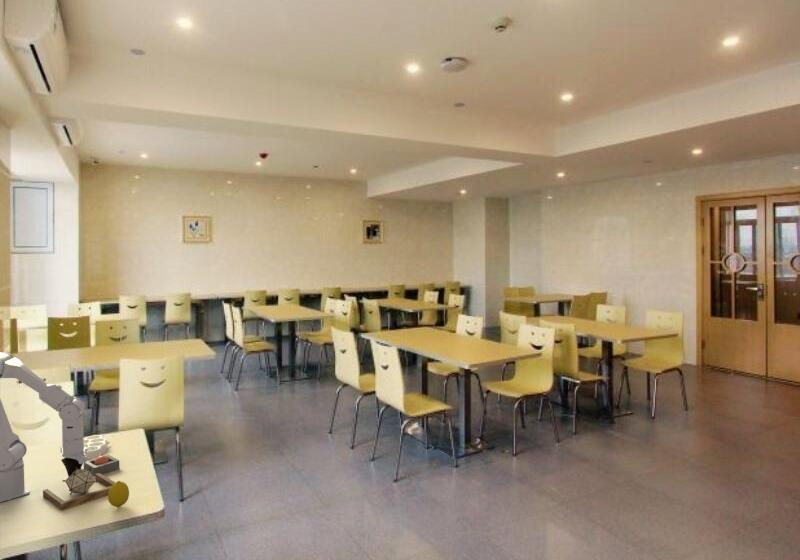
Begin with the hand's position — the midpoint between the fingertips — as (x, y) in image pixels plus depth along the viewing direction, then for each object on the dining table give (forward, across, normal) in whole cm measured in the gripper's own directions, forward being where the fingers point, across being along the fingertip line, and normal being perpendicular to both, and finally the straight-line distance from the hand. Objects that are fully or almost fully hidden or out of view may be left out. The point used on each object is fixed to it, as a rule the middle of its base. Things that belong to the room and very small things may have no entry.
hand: (73, 479), depth 169 cm
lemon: (+3, -24, -3) cm, 24 cm away
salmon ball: (+3, +8, -12) cm, 15 cm away
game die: (+3, -5, 0) cm, 6 cm away
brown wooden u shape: (+3, -6, 0) cm, 6 cm away
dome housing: (+3, +8, -12) cm, 15 cm away
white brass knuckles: (+4, +30, -17) cm, 34 cm away
